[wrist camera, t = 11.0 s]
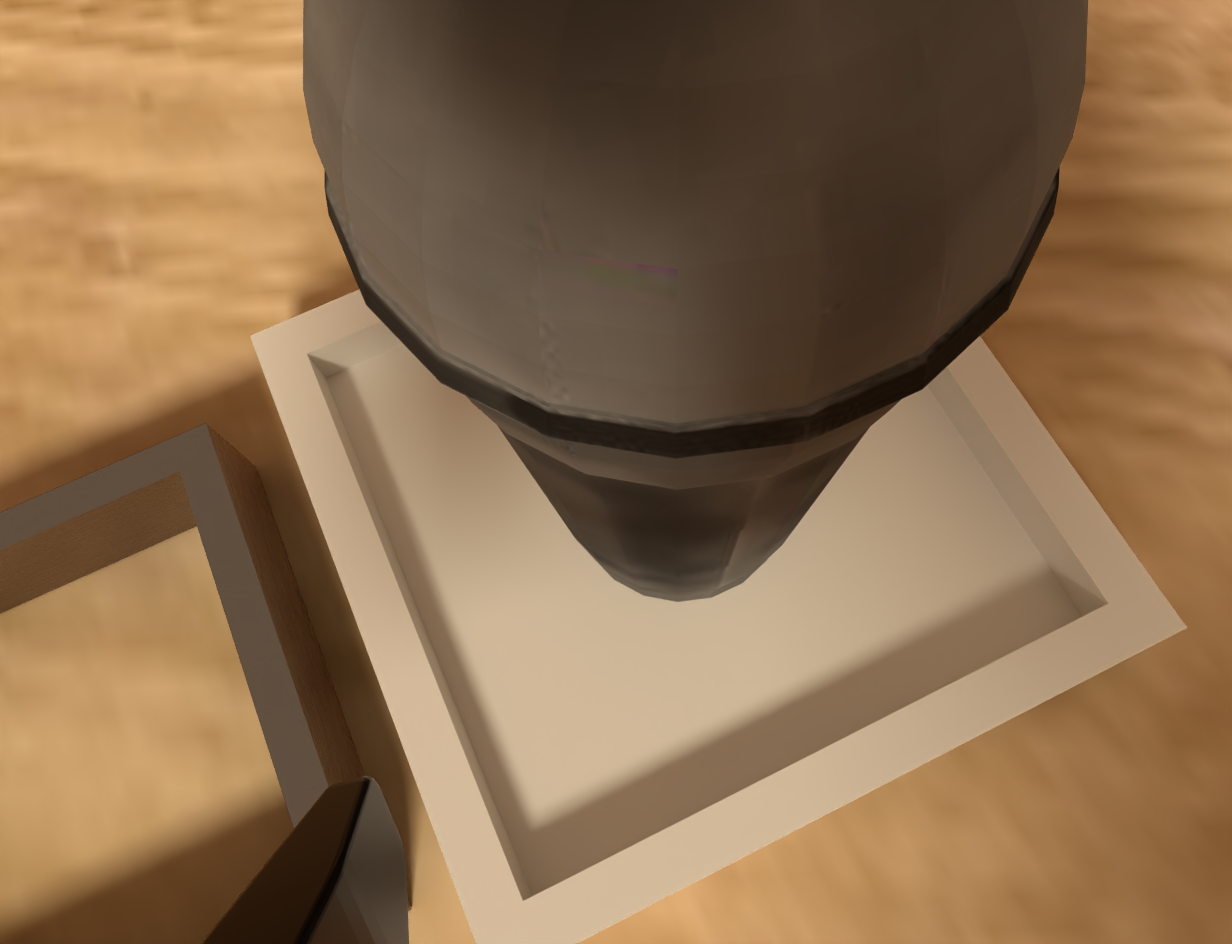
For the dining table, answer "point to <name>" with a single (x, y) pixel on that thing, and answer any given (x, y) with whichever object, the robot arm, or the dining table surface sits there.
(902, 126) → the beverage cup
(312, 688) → the grey-brown square frame
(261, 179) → the dining table surface
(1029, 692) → the cream white tray
